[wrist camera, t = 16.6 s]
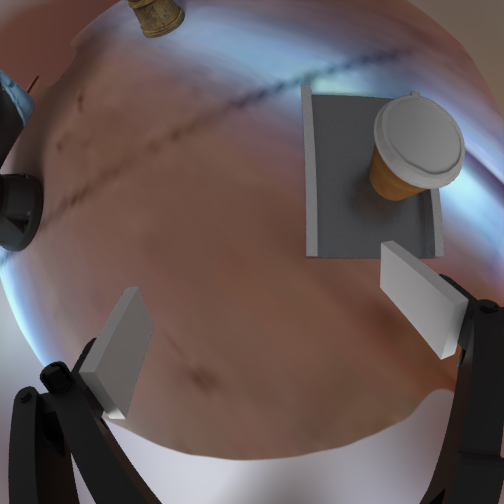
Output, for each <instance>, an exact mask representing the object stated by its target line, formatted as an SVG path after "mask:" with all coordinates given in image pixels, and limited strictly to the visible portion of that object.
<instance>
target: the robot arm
mask: <svg viewBox="0 0 504 504" xmlns="http://www.w3.org/2000/svg"><path fill="white" fill-rule="evenodd" d="M33 109H34V101H33V99H32V98H31V97H30V96H29V94H28V93H27V92H26V91H25V90H23V89H22V88H21V87H20V86H19V85H18V84H17V83H15V82H14V81H13V80H12V79H11V78H10V77H9V76H8V75H7V74H6V73H4V72H3V71H2V70H0V169H1V167H2V165H3V163H4V161H5V159H6V157H7V156H8V154H9V152H10V150H11V148H12V147H13V145H14V143H15V141H16V140H17V138H18V136H19V135H20V133H21V131H22V130H23V128H24V127H25V126H26V122H27V121H28V119H29V117H30V115H31V114H32V112H33ZM42 206H43V194H42V188H41V185H40V182H39V181H38V179H37V178H35V177H34V176H31V175H29V174H25V173H20V174H0V246H2V247H3V248H5V249H7V250H10V251H21V250H23V249H25V248H26V247H27V246H28V245H29V244H30V242H31V241H32V239H33V237H34V235H35V233H36V231H37V228H38V225H39V222H40V218H41V214H42ZM380 288H381V289H382V290H383V291H384V292H385V293H386V294H387V295H388V297H389V298H390V299H391V300H392V301H393V302H394V303H395V305H396V306H397V307H398V308H399V309H400V310H401V312H402V313H403V314H404V315H405V316H406V317H407V319H408V320H409V321H410V322H411V323H412V325H413V326H414V327H415V328H416V329H417V331H418V332H419V333H420V334H421V335H422V337H423V338H424V339H425V340H426V341H427V343H428V344H429V345H430V346H431V348H432V349H433V350H434V351H435V353H436V354H437V355H438V356H439V358H440V359H444V358H446V357H448V356H451V355H453V354H454V353H455V350H456V347H457V343H458V344H459V345H460V346H461V347H462V351H461V354H460V357H459V360H458V363H457V365H456V367H459V368H458V375H457V382H456V388H455V394H454V399H453V404H452V409H451V414H450V418H449V422H448V426H447V431H446V434H445V438H444V442H443V445H442V449H441V452H440V456H439V459H438V462H437V465H436V468H435V471H434V474H433V477H432V480H431V482H430V485H429V487H428V490H427V492H426V493H425V495H424V497H423V499H422V500H421V502H420V504H498V502H499V498H500V494H501V490H502V485H503V480H504V458H502V457H501V456H500V451H501V444H502V436H503V426H504V307H500V306H499V305H498V304H497V303H495V302H493V301H491V300H487V299H482V300H477V299H476V298H475V297H473V296H472V295H471V294H470V293H469V292H467V291H466V290H465V289H464V288H462V287H461V286H460V285H459V284H457V283H456V282H455V281H454V280H452V279H451V278H450V277H447V276H445V275H442V274H439V275H438V274H437V273H435V272H434V271H433V270H432V269H430V268H429V267H428V266H426V265H425V264H424V263H423V262H421V261H420V260H419V259H417V258H416V257H415V256H413V255H412V254H411V253H409V252H408V251H407V250H405V249H404V248H403V247H401V246H400V245H399V244H397V243H396V242H394V241H393V240H392V241H387V242H382V243H381V277H380ZM153 330H154V326H153V324H152V321H151V319H150V316H149V313H148V311H147V308H146V305H145V303H144V300H143V297H142V295H141V292H140V289H139V286H137V287H131V288H126V289H125V291H124V292H123V294H122V296H121V297H120V299H119V301H118V302H117V304H116V306H115V307H114V309H113V311H112V312H111V314H110V316H109V318H108V319H107V321H106V323H105V324H104V326H103V328H102V330H101V331H100V333H99V335H98V337H97V338H93V339H92V340H91V341H90V342H89V343H88V344H87V345H86V346H85V348H84V350H83V351H82V354H81V355H80V357H79V359H78V360H77V362H76V364H75V366H74V368H73V370H72V371H71V372H70V371H69V369H68V367H67V366H66V364H65V363H64V362H61V361H58V362H53V363H51V364H49V365H48V366H46V367H45V368H44V369H43V370H42V372H41V374H40V380H41V381H42V383H43V384H44V386H45V387H46V388H47V390H48V391H49V392H48V393H43V394H39V393H38V392H37V390H36V389H35V388H34V387H31V386H29V387H25V388H23V389H21V390H20V391H19V392H18V394H17V395H16V397H15V399H14V405H13V413H12V421H11V431H10V444H9V473H8V474H9V476H8V478H9V504H80V503H79V499H78V494H77V489H76V484H75V478H74V472H73V467H72V459H71V453H72V455H73V458H74V460H75V463H76V465H77V467H78V469H79V471H80V473H81V475H82V478H83V480H84V482H85V484H86V486H87V488H88V490H89V491H90V493H91V495H92V497H93V499H94V501H95V503H96V504H162V503H161V502H160V501H159V499H158V498H157V497H156V496H155V494H154V493H153V492H152V491H151V490H150V488H149V487H148V486H147V484H146V483H145V481H144V480H143V479H142V477H141V476H140V475H139V473H138V472H137V471H136V469H135V468H134V466H133V465H132V464H131V462H130V461H129V459H128V458H127V456H126V455H125V453H124V452H123V450H122V449H121V447H120V445H119V444H118V442H117V441H116V439H115V437H114V436H113V434H112V433H111V431H110V429H109V427H108V426H107V424H106V422H105V421H104V419H103V418H102V414H103V411H105V412H106V413H107V415H108V416H109V418H110V419H126V416H127V413H128V409H129V406H130V402H131V399H132V396H133V392H134V389H135V386H136V383H137V379H138V376H139V373H140V370H141V367H142V363H143V360H144V357H145V354H146V351H147V348H148V345H149V342H150V339H151V336H152V333H153Z"/></svg>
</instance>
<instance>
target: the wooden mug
mask: <svg viewBox="0 0 504 504" xmlns="http://www.w3.org/2000/svg"><path fill="white" fill-rule="evenodd" d="M127 2H128V4H129V6H130V7H131V8H132V9H133V10H134V12H135V14H136V16H137V18H138V20H139V22H140V24H141V29H142V31H143V34H144V35H145V36H146V37H159V36H162V35H165V34H167V33H169V32H171V31H173V30H174V29H175V28H177V27H178V26H179V25H180V24H181V23H182V22H183V20H184V12H183V11H182V9H181V8H180V7H179V6H177V5H176V4H175V2H174V1H173V0H127Z"/></svg>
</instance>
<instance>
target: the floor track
mask: <svg viewBox="0 0 504 504" xmlns="http://www.w3.org/2000/svg"><path fill="white" fill-rule="evenodd" d="M410 95H414V96H420V94H419V92H412V91H411V93H410ZM301 96H302V112H303V131H304V153H305V183H306V258H381V243H382V242H387V241H392V240H393V241H394V242H396V243H397V244H399V245H400V246H401V247H403V248H404V249H405V250H407V251H408V252H409V253H411V254H412V255H413V256H415V257H416V258H438V257H444V244H443V226H442V214H441V203H440V194H439V188H434V189H427V190H424V191H422V192H420V193H417V194H415V195H412V196H410V197H407V198H405V199H403V200H398V201H394V200H389V199H386V198H384V197H382V196H381V195H380V194H378V193H377V191H376V190H375V189H374V188H373V186H372V184H371V182H370V178H369V168H370V164H371V159H372V154H373V149H374V144H375V139H374V123H375V119H376V116H377V114H378V112H379V111H380V110H381V108H382V107H383V106H384V105H385V104H387V103H388V102H390V101H393V100H394V99H386V98H374V97H360V96H337V95H311V89H310V85H301Z"/></svg>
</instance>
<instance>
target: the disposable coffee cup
mask: <svg viewBox="0 0 504 504" xmlns="http://www.w3.org/2000/svg"><path fill="white" fill-rule="evenodd" d="M374 139H375V144H374V149H373V154H372V159H371V164H370V168H369V178H370V182H371V184H372V186H373V188H374V189H375V190H376V191H377V193H378V194H380V195H381V196H382V197H384V198H386V199H389V200H394V201H398V200H403V199H405V198H407V197H410V196H412V195H415V194H417V193H420V192H422V191H424V190H427V189H434V188H441V187H444V186H446V185H448V184H450V183H451V182H452V181H454V180H455V178H456V177H457V176H458V174H459V173H460V170H461V168H462V164H463V159H464V155H465V145H464V139H463V136H462V133H461V130H460V128H459V126H458V125H457V123H456V121H455V120H454V119H453V117H452V116H451V115H450V114H449V113H448V112H447V111H446V110H445V109H444V108H442V107H441V106H440V105H438V104H437V103H435V102H434V101H432V100H430V99H427V98H424V97H421V96H414V95H407V96H402V97H399V98H397V99H394V100H393V101H390V102H388V103H387V104H385V105H384V106H383V107H382V108H381V110H380V111H379V112H378V114H377V116H376V119H375V123H374Z"/></svg>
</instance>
